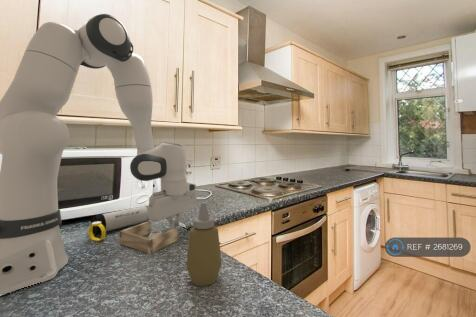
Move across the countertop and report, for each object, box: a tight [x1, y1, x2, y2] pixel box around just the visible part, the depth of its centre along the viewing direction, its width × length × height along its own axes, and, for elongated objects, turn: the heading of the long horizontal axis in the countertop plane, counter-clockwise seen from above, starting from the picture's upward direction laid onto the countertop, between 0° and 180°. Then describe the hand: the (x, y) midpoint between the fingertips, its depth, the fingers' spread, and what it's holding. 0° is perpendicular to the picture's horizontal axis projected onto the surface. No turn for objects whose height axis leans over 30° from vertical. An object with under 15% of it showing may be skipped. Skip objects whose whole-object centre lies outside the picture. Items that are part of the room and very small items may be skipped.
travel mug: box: [90, 205, 151, 236], centre depth 87 cm, size 6×7×20 cm
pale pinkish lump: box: [147, 229, 163, 238], centre depth 76 cm, size 5×3×5 cm
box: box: [119, 220, 179, 255], centre depth 75 cm, size 11×14×4 cm
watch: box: [87, 221, 107, 242], centre depth 76 cm, size 6×3×6 cm, turn 73°
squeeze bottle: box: [186, 202, 222, 287], centre depth 54 cm, size 8×8×18 cm
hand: (174, 226), depth 84 cm, fingers closed
